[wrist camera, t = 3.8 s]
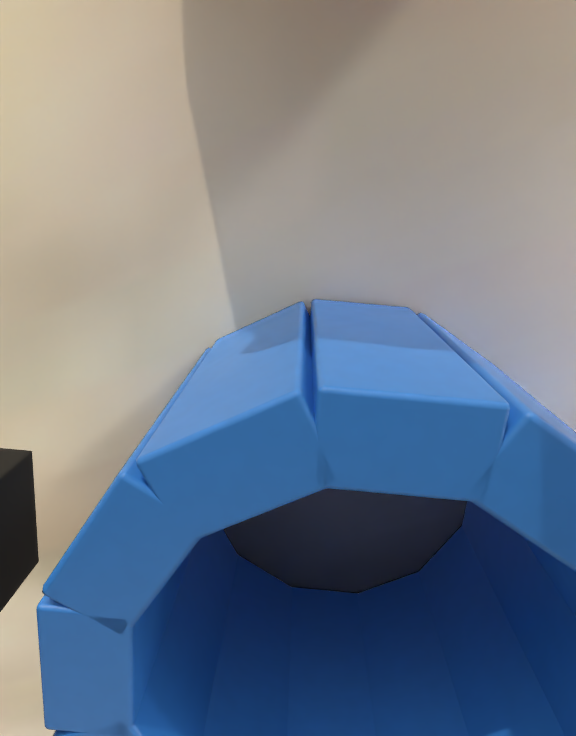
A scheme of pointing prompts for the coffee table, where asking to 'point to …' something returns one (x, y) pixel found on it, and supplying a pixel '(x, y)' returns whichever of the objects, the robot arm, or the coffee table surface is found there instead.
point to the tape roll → (312, 606)
